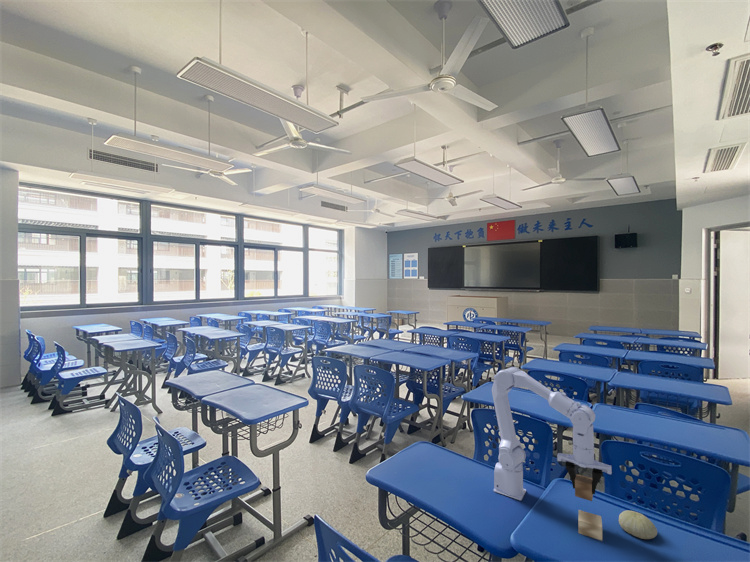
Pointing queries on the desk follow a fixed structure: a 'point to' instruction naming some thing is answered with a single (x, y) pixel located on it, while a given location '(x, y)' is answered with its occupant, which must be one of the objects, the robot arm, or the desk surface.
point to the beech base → (590, 525)
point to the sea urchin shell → (637, 524)
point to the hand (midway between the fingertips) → (583, 490)
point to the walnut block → (583, 487)
